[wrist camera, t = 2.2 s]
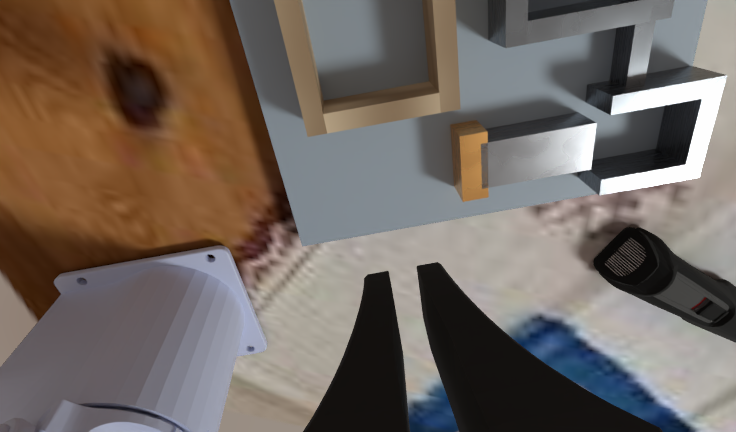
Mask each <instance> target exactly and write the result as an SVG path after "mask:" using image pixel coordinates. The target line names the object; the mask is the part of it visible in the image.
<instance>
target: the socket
mask: <svg viewBox="0 0 736 432" xmlns="http://www.w3.org/2000/svg"><path fill="white" fill-rule="evenodd" d="M674 1H675V0H591V1H586V2H581V3H575V4H570V5H564V6H559V7H554V8H548V9H543V10H538V11H532V12H528V0H488V41H490V42H493V43H495V44H497V45H499V46H502V47H504V48H510V47H515V46H521V45H526V44H532V43H537V42H543V41H548V40H553V39H559V38H564V37H570V36H575V35H581V34H586V33H591V32H597V31H602V30H608V29H613V28H616V35H615V43H614V50H613V58H612V65H611V73H610V80H609V81H604V82H598V83H593V84H587V90H586V100H585V102H586V103H588V104H590V105H592V106H594V107H595V108H597V109H599V110H601V111H603V112H605V113H607V114H609V115H615V114H620V113H626V112H632V111H637V110H643V109H648V108H654V107H659V106H665V107H664V112H663V117H662V122H661V127H660V131H659V136H658V141H657V146H656V149H651V150H645V151H640V152H634V153H629V154H623V155H617V156H612V157H606V158H601V159H595V160H592V166H591V170H585V171H580V172H578V175H577V177H578V178H579V179H580V180H581V181H583V182H584V183H585V184H586V185H587V186H589V187H590V188H591V189H592V190H593V191H595V192H596V193H597V194H598V195H605V194H610V193H616V192H621V191H627V190H633V189H638V188H644V187H650V186H655V185H661V184H666V183H672V182H678V181H683V180H689V179H695V178H699V177H700V173H701V169H702V166H703V162H704V158H705V155H706V151H707V147H708V144H709V140H710V136H711V133H712V129H713V125H714V122H715V118H716V114H717V111H718V107H719V103H720V100H721V96H722V92H723V89H724V85H725V81H726V78H727V75H724V74H720V73H716V72H712V71H709V70H705V69H701V68H697V67H694V66H686V67H680V68H675V69H669V70H664V71H658V72H653V73H647V68H648V63H649V57H650V51H651V46H652V40H653V34H654V29H655V23H656V20H662V19H667V18H671V16H672V11H673V6H674Z"/></svg>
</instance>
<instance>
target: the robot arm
mask: <svg viewBox="0 0 736 432" xmlns="http://www.w3.org/2000/svg"><path fill="white" fill-rule="evenodd" d="M208 254H209V255H213V256H214V257H215V258H210V257H208ZM417 272H418V280H419V288H420V296H421V303H422V311H423V318H424V323H425V327H426V331H427V335H428V340H429V344H430V348H431V351H432V354H433V357H434V360H435V363H436V366H437V368H438V371H439V374H440V377H441V380H442V383H443V385H444V388H445V391H446V394H447V397H448V400H449V402H450V405H451V408H452V411H453V414H454V417H455V419H456V423H457V426H458V429H459V432H663V431H662V430H661V429H660V428H659V427H657V426H654V425H652V424H650V423H648V422H646V421H644V420H642V419H640V418H638V417H636V416H634V415H632V414H630V413H628V412H626V411H624V410H622V409H620V408H618V407H616V406H614V405H612V404H610V403H608V402H607V401H605V400H603V399H601V398H599V397H598V396H596V395H594V394H592V393H591V392H589V391H587V390H585V389H584V388H582V387H581V386H579V385H578V384H576V383H574V382H573V381H571V380H570V379H568V378H567V377H565V376H563V375H562V374H560V373H559V372H557V371H556V370H554V369H552V368H551V367H549V366H548V365H547V364H545V363H544V362H542V361H541V360H540V359H538V358H537V357H535V356H534V355H533V354H531V353H530V352H529V351H527V350H526V349H525V348H523V347H522V346H521V345H520V344H518V343H517V342H516V341H515V340H513V339H512V338H511V337H510V336H509V335H507V334H506V333H505V332H504V331H503V330H502V329H500V328H499V327H498V326H497V325H496V324H495V323H494V322H493V321H492V320H490V319H489V318H488V317H487V316H486V315H485V314H484V313H483V312H482V311H481V310H480V309H479V308H478V307H477V306H476V305H475V304H474V303H473V302H472V301H471V300H470V299H469V298H468V296H467V295H466V294H465V293H464V292H463V291H462V290H461V289H460V288H459V286H458V285H457V284H456V283H455V282H454V281H453V279H452V278H451V277H450V276H449V274H448V273H447V272H446V270H445V269H444V268H443V266H442V265H441V264H439V263H438V262H436V263H431V264H425V265H419V266H417ZM82 278H84V279H86V280H83V279H82ZM54 284H55V286H56V288H57V289H58V290H59V292H60V293H61V295H60V296H59V298H58V299H57V300H56V301H55V302H54V304H53V305H52V306H51V307H50V308H49V310H48V311H47V312H46V313H45V314H44V316H43V317H42V318H41V319H40V320H39V322H38V323H37V324H36V325H35V326H34V328H33V329H32V330H31V331H30V332H29V333H28V335H27V336H26V337H25V338H24V340H23V341H22V342H21V343H20V344H19V345H18V347H17V348H16V349H15V350H14V351H13V353H12V354H11V355H10V356H9V358H8V359H7V360H6V361H5V362H4V363H3V365H2V366H1V367H0V432H218V430H219V426H220V422H221V418H222V414H223V410H224V406H225V402H226V398H227V394H228V389H229V385H230V381H231V377H232V373H233V369H234V365H235V361H236V357H237V356H243V355H248V354H254V353H260V352H263V351H265V350H266V348H267V341H266V338H265V336H264V333H263V331H262V328H261V326H260V324H259V321H258V319H257V316H256V314H255V311H254V309H253V306H252V304H251V301H250V299H249V297H248V294H247V292H246V289H245V287H244V284H243V282H242V279H241V277H240V274H239V272H238V270H237V267H236V265H235V262H234V260H233V257H232V255H231V252H230V251H229V249H228V248H227V247H225V246H213V247H207V248H201V249H196V250H190V251H185V252H179V253H173V254H168V255H162V256H157V257H151V258H145V259H140V260H134V261H129V262H123V263H117V264H112V265H106V266H101V267H95V268H89V269H84V270H78V271H73V272H67V273H62V274H59V275H58V276H57V278H56V279H55V280H54ZM250 346H253V347H250ZM303 432H410V429H409V417H408V406H407V394H406V382H405V371H404V359H403V351H402V345H401V339H400V334H399V328H398V322H397V316H396V310H395V305H394V299H393V293H392V287H391V282H390V277H389V272H388V271H385V272H380V273H374V274H368V275H367V276H366V277H365V278H364V289H363V295H362V300H361V304H360V308H359V312H358V315H357V319H356V322H355V325H354V329H353V332H352V334H351V337H350V340H349V342H348V345H347V348H346V350H345V353H344V356H343V358H342V360H341V363H340V365H339V367H338V370H337V372H336V374H335V376H334V378H333V380H332V382H331V384H330V386H329V388H328V390H327V392H326V394H325V396H324V397H323V399H322V401H321V403H320V405H319V407H318V408H317V410H316V412H315V414H314V415H313V417H312V419H311V420H310V422H309V423H308V425H307V426H306V428H305V430H304V431H303Z"/></svg>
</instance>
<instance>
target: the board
mask: <svg viewBox="0 0 736 432" xmlns="http://www.w3.org/2000/svg"><path fill="white" fill-rule="evenodd" d="M586 1H591V0H528V12H532V11H538V10H543V9H548V8H554V7H559V6H564V5H570V4H575V3H581V2H586ZM302 2H303V7H304V11H305V16H306V21H307V25H308V30H309V34H310V39H311V44H312V48H313V53H314V58H315V62H316V67H317V71H318V76H319V81H320V85H321V90H322V94H323V99H324V100H329V99H335V98H340V97H346V96H351V95H357V94H362V93H368V92H373V91H378V90H384V89H389V88H395V87H400V86H406V85H411V84H417V83H422V82H427V81H429V76H428V64H427V52H426V41H425V29H424V17H423V5H422V0H302ZM230 4H231V7H232V10H233V14H234V17H235V21H236V24H237V27H238V31H239V34H240V37H241V41H242V44H243V48H244V51H245V54H246V58H247V61H248V64H249V68H250V71H251V75H252V78H253V81H254V85H255V88H256V91H257V95H258V98H259V102H260V105H261V108H262V112H263V115H264V119H265V122H266V125H267V129H268V132H269V135H270V139H271V142H272V146H273V149H274V152H275V156H276V159H277V162H278V166H279V169H280V173H281V176H282V179H283V183H284V186H285V189H286V193H287V196H288V200H289V203H290V206H291V210H292V213H293V216H294V220H295V223H296V227H297V230H298V233H299V237H300V240H301V243H302V246H307V245H313V244H318V243H324V242H330V241H335V240H341V239H346V238H352V237H358V236H363V235H369V234H375V233H380V232H386V231H391V230H397V229H403V228H408V227H414V226H419V225H425V224H431V223H436V222H442V221H448V220H453V219H459V218H464V217H470V216H476V215H481V214H487V213H493V212H498V211H504V210H509V209H515V208H521V207H526V206H532V205H537V204H543V203H549V202H554V201H560V200H566V199H571V198H577V197H582V196H588V195H594V194H597V193H596V192H595V191H593V190H592V189H591V188H590V187H589V186H587V185H586V184H585V183H584V182H583V181H581V180H580V179H579V178H578V177H577V175H578V172H574V173H569V174H563V175H557V176H552V177H546V178H541V179H535V180H529V181H524V182H518V183H513V184H507V185H501V186H496V187H490V188H488V192H489V197H488V198H482V199H477V200H471V201H466V202H463V201H462V200H461V198H460V196H459V194H458V193H457V191H456V189H455V187H454V177H453V161H452V145H451V129H450V125H451V124H456V123H462V122H467V121H473V120H477V121H478V122H479V123H480V124H481V125H482V126H483V127H484V128H485V129H487V128H492V127H498V126H503V125H509V124H514V123H520V122H525V121H531V120H536V119H542V118H547V117H553V116H558V115H564V114H569V113H575V112H579V113H580V114H582V115H584V116H586V117H587V118H589V119H591V120H593V121H594V122H596V123H597V126H596V134H595V142H594V150H593V158H592V160H595V159H601V158H606V157H612V156H617V155H623V154H629V153H634V152H640V151H645V150H651V149H656V146H657V141H658V136H659V131H660V127H661V122H662V117H663V112H664V107H665V106H659V107H654V108H648V109H643V110H637V111H632V112H626V113H620V114H615V115H609V114H607V113H605V112H603V111H601V110H599V109H597V108H595V107H594V106H592V105H590V104H588V103H586V102H585V100H586V90H587V84H593V83H598V82H604V81H609V80H610V73H611V65H612V58H613V50H614V43H615V35H616V28H613V29H608V30H602V31H597V32H591V33H586V34H581V35H575V36H570V37H564V38H559V39H553V40H548V41H543V42H537V43H532V44H526V45H521V46H515V47H510V48H504V47H502V46H499V45H497V44H495V43H493V42H490V41H488V0H455V4H456V25H457V46H458V66H459V87H460V108H461V109H459V110H454V111H448V112H443V113H437V114H432V115H426V116H421V117H415V118H410V119H404V120H399V121H393V122H388V123H383V124H377V125H372V126H366V127H361V128H355V129H350V130H344V131H339V132H333V133H328V134H322V135H317V136H311V137H308V136H307V132H306V128H305V124H304V120H303V116H302V112H301V108H300V104H299V100H298V96H297V92H296V88H295V84H294V80H293V76H292V72H291V68H290V64H289V60H288V56H287V51H286V47H285V43H284V39H283V35H282V31H281V27H280V23H279V19H278V15H277V11H276V7H275V3H274V0H230ZM706 4H707V0H675V1H674V6H673V11H672V16H671V18H667V19H662V20H656V23H655V29H654V34H653V40H652V46H651V51H650V57H649V63H648V68H647V73H653V72H658V71H664V70H669V69H675V68H680V67H686V66H693V61H694V57H695V53H696V48H697V44H698V39H699V35H700V31H701V26H702V22H703V18H704V13H705V9H706Z"/></svg>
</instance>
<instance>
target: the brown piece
mask: <svg viewBox="0 0 736 432" xmlns="http://www.w3.org/2000/svg"><path fill="white" fill-rule="evenodd" d="M274 3H275V7H276V11H277V15H278V19H279V23H280V27H281V31H282V35H283V39H284V43H285V47H286V51H287V56H288V60H289V64H290V68H291V72H292V76H293V80H294V84H295V88H296V92H297V96H298V100H299V104H300V108H301V112H302V116H303V120H304V124H305V128H306V132H307V136H308V137H311V136H317V135H322V134H328V133H333V132H339V131H344V130H350V129H355V128H361V127H366V126H372V125H377V124H383V123H388V122H393V121H399V120H404V119H410V118H415V117H421V116H426V115H432V114H437V113H443V112H448V111H454V110H459V109H461V108H460V87H459V66H458V46H457V25H456V4H455V0H422V5H423V17H424V29H425V41H426V52H427V64H428V76H429V81H427V82H422V83H417V84H411V85H406V86H400V87H395V88H389V89H384V90H378V91H373V92H368V93H362V94H357V95H351V96H346V97H340V98H335V99H329V100H324V99H323V94H322V90H321V85H320V81H319V76H318V71H317V67H316V62H315V58H314V53H313V48H312V44H311V39H310V34H309V30H308V25H307V21H306V16H305V11H304V7H303V2H302V0H274Z"/></svg>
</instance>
